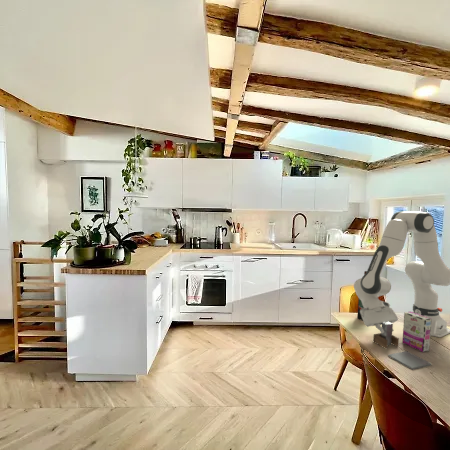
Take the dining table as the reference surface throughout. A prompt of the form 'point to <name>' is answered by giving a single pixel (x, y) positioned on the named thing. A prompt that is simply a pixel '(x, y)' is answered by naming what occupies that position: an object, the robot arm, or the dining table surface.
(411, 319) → the candy bar box
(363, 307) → the wine bottle
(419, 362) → the coaster
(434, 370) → the dining table surface
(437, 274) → the robot arm
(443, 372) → the dining table surface
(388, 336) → the gray rectangular block
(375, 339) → the holder
